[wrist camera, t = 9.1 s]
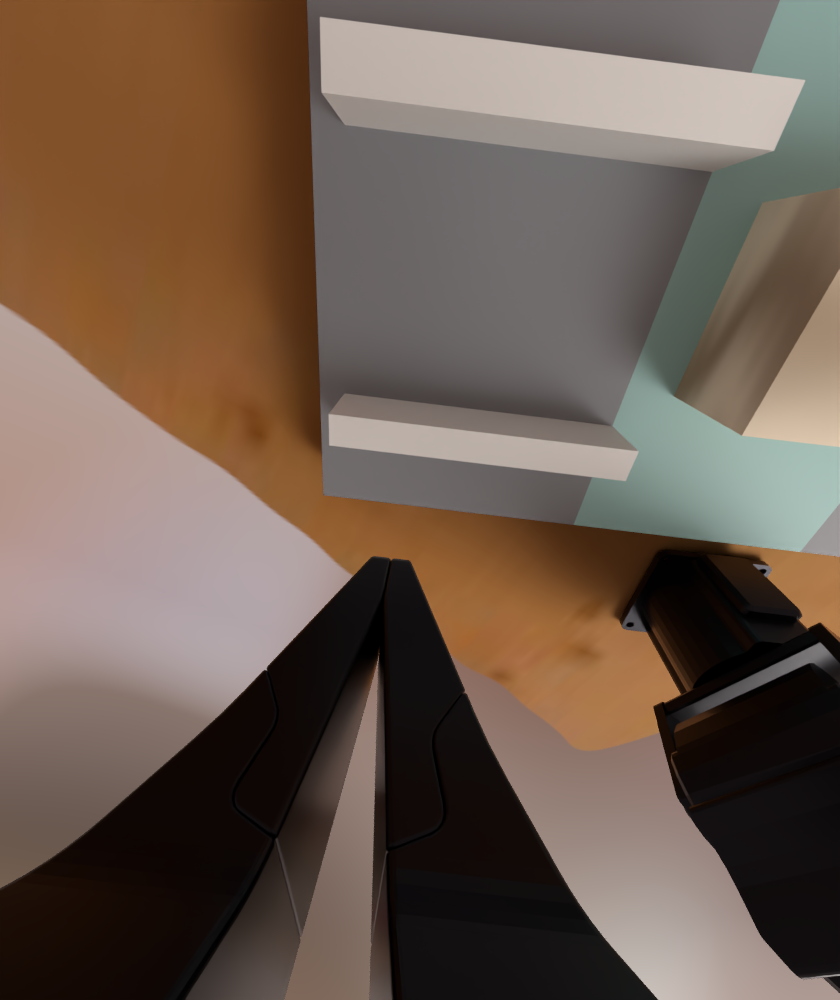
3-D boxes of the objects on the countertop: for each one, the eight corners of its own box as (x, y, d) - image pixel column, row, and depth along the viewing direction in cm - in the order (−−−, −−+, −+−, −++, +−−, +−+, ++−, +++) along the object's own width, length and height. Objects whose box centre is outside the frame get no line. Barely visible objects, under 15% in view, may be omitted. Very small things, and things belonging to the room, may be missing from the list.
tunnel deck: (909, 534, 21) (1042, 612, 16) (338, 466, 21) (307, 525, 16) (1379, 58, 11) (2025, -85, 7) (333, -81, 11) (253, -330, 6)
